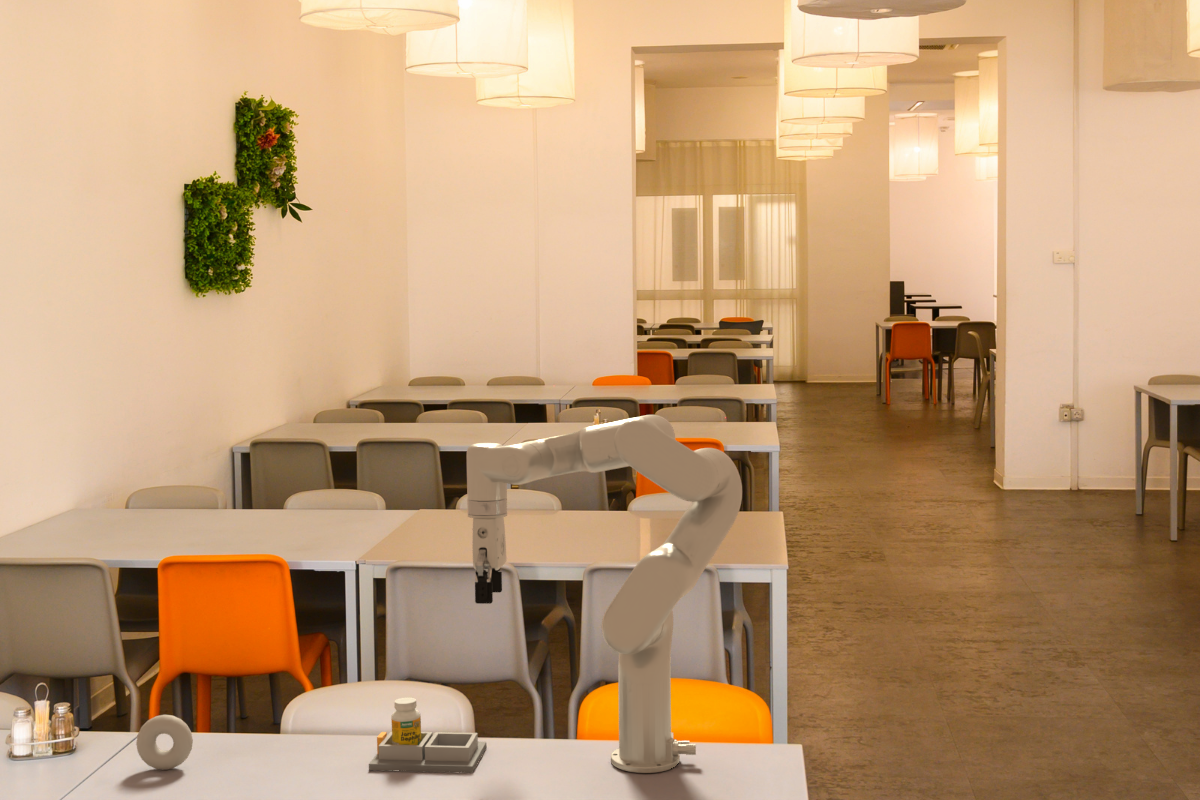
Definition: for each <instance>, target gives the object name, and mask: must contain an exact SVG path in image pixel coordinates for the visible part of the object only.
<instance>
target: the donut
mask: <svg viewBox="0 0 1200 800" xmlns="http://www.w3.org/2000/svg"><path fill="white" fill-rule="evenodd" d="M163 734H165V735H168V736H169V737H170V738H171V739H172V742H173V744H172V747H171V748H170V749H168V750H164V749H160V748H159V746H158V745H157V738H158V737H159V736H160V735H163ZM193 742H194V739H193V734H192V731H191V729H190V727H189V726H188V724H187V723H186V722H185V721H184V720H182V718H180V717H177V716H175V715H171V714H160V715H156V716H154V717H152V718H150V719H147V721H146V722H145V723H144V724H143V725H141V727H140V729H139V732H138V733H137V737H136V742H135V743H136V744H135V745H136V749H137V753H138V756H139V757H140V758H141V760H142V761H143V762H144V763H145V764H146V765H147V766H148V767H151V768H153V769H154V770H162V771H165V770H172V769H175V768H176V767H178V766H180V765H182V764H183V763H185V761H186V760H187V759H188V757H189V756H190V754H191V751H192V749H193Z"/></svg>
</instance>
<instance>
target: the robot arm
mask: <svg viewBox="0 0 1200 800" xmlns="http://www.w3.org/2000/svg"><path fill="white" fill-rule="evenodd" d="M627 467H631V468H632V469H633V470H635V471H636V472H638V474H640V475H642V476H643V477H645V478H646V479H648V480H650V481H651V482H653V483H654V484H655V485H657V486H659V487H660V488H661V489H663V490H664V491H666V492H668V493H669V494H671V495H673V496H674V497H676V498H678V499H680V500H682V501H686V502H691V503H690V505H689V506H688V507H687V508H686V510H685V511H684V513H683V514H682V516H681V517H680V518H679V520H678V521H677V523H676V525H675V526H674V528H673V529H672V531H671V532H670V534H669V535H668V537H667V538H666V539H665V541H664V542H663V543H662V544H661V545H660V546H659V547H657V548H655V549H654V550H652V551H650V552H649V553H647V554H646V555H645V556H643V557H642V558H641V559H640V560H639V562H638V563H637V564H636V565H635V566H634V567H633V569H632V571H631V572H630V574H628V577H627V578H626V580H625V581H624V582H623V583H622V585H621V587H620V589H619V590H618V592H617V593H616V594H615V596H614V598H613V599H612V601H611V602H610V604H609V605H608V607H607V609H606V610H605V612H604V614H603V615H602V616H603V617H602V619H601V633H602V637H603V640H604V642H605V643H606V644H607V645H606V646H608V647H609V648H610V649H612V651H613V652H616V653H618V667H617V671H618V672H617V673H618V677H617V678H618V683H617V684H618V689H617V690H618V748H616V749H615V750H614V751H613V750H612V753H610V763H611V764H612V765H613V766H614V767H615V768H618V769H619V770H622V771H626V772H629V773H638V774H652V773H661V772H666V771H669V770H671V768H672V769H674V768H675V766H676V765H677V764H678V763H679V764H680V762H681V757H680V756H681V755H686V756H696V754H697V752H696V751H697V744H696V743H690V740H677V739H675V738H674V732H672V708H671V707H672V706H671V702H672V701H671V699H672V698H671V696H672V695H671V694H672V693H671V690H672V689H671V688H672V687H671V685H672V683H671V682H672V681H671V677H672V676H671V675H672V674H671V672H672V671H671V665H672V664H671V658H672V657H671V656H672V640H673V633H674V632H673V631H674V612H673V609H674V608H675V607H676V605H677V604H678V602H679V601H680V600H681V599H682V598H683V597H685V596H686V595H687V594H689V593H690V592H691V591H692V590H693V589H694V588H695V586H696V584H697V583H698V581H699V579H700V577H701V576H702V574H703V572H704V571H705V570H706V568H707V566H708V564H710V562H711V561H712V559H713V557H714V556H715V555H716V553H717V551H718V550H719V547H720V546H721V545H722V543H723V541H724V540H725V538H726V536H727V535H728V534H729V532H730V530H731V529H732V527H733V525H734V524H735V521H736V519H737V517H738V515H739V513H740V510H741V504H742V499H743V484H742V480H741V479H742V478H741V476H740V473H739V470H738V469H737V468H738V467H737V466H736V464H735V463H734V461H733V460H732V458H731V457H730V456H729V455H728V454H726V453H725V452H724V451H722V450H720V449H717V448H713V447H704V448H699V449H695V450H692V449H690V448H689V447H688V446H686V445H684V444H683V443H681V442H679V441H677V440H676V433H675V429H674V427H673V425H672V424H671V422H670V421H669V420H668V419H667V418H665V417H663V416H661V415H658V414H646V415H641V416H636V417H629V418H625V419H619V420H616V421H612V422H611V421H610V422H605V423H601V424H595V425H590V426H586V427H583V428H581V429H580V430H578V431H575V432H572V433H571V432H570V433H567V434H561V435H557V436H556V435H555V436H550V437H546V438H541V439H535V440H530V441H529V440H528V441H525V442H520V443H516V444H510V445H503V444H501V443H498V442H497V443H496V442H479V443H473V444H471V445H469V446H468V447H467V450H466V487H467V488H466V489H467V492H466V493H467V495H466V497H467V500H466V501H467V518H471V519H472V528H471V529H472V544H471V545H472V566H473V569H474V570H475V577H474V602H475V604H481V605H482V604H485V605H489V604H492V603H493V601H494V600H493V596H494V595H493V594H494V593H501V592H502V591H503V579H502V578H503V574H502V573H503V572H502V568H503V565H505V564H506V562H507V545H506V529H505V528H506V527H505V518H506V517H507V516H508V485H512V486H513V485H514V486H517V485H519V486H521V485H525V484H529V483H531V482H535V481H539V480H542V479H543V480H544V479H547V478H551V477H556V476H561V475H566V474H572V473H579V472H588V473H592V474H593V473H600V472H606V471H610V470H611V471H612V470H616V469H617V470H618V469H621V468H627ZM504 517H505V518H504ZM679 761H680V762H679ZM679 764H678V765H679ZM678 765H677V766H678ZM677 766H676V767H677ZM673 767H674V768H673Z"/></svg>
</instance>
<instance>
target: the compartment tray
mask: <svg viewBox="0 0 1200 800" xmlns="http://www.w3.org/2000/svg"><path fill="white" fill-rule="evenodd" d="M387 733H388V731H381V732H380V733H379V734H378V735H377V737H376V749H377V750H376V751H377V753H376V754H375V756H374V757H373V758H372V759H371V761H370V762H369V763H368V771H369V770H392V771H391V772H394V771H393V770H399V771H398V772H409V771H415V773H418V772H419V773H421V772H422V773H424V772H423V771H426V772H425V773H453V772H459V773H460V772H462V774H463V773H464V774H465V773H466V774H468V773H469V774H473V773H474V771H475V769H476V768H477V766H478V764H479V762H480V761H479V759H480V758H481V759H482V757H483V755H484V753H485V752H484V750H485V748H486V749H487V741H478V740H479V738H478V735H479V733H478V732H451V731H449V732H448V731H447V732H446V731H445V732H444V731H442V732H441V731H436V732H434V733H433V731H421V743H420V744H419V745H392V730H390V731H389V733H388V734H387ZM485 751H486V750H485ZM483 752H484V753H483ZM482 754H483V755H482ZM481 756H482V757H481ZM481 759H480V760H481ZM478 761H479V762H478ZM477 763H478V764H477ZM476 765H477V766H476ZM475 767H476V768H475ZM416 771H417V772H416ZM427 771H428V772H427ZM460 774H461V773H460Z"/></svg>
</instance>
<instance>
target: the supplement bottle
mask: <svg viewBox="0 0 1200 800" xmlns="http://www.w3.org/2000/svg"><path fill="white" fill-rule="evenodd" d="M393 703H394V709H395V711H393V712H392V714H391V718H390V719H391V731H392V745H419V744H420V743H421V732H422V722H421V720H422V719H421V712H420V711H419V710H418V709H417V699H416V698H414V697H400V698H397V699H395V700H394V702H393Z"/></svg>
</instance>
